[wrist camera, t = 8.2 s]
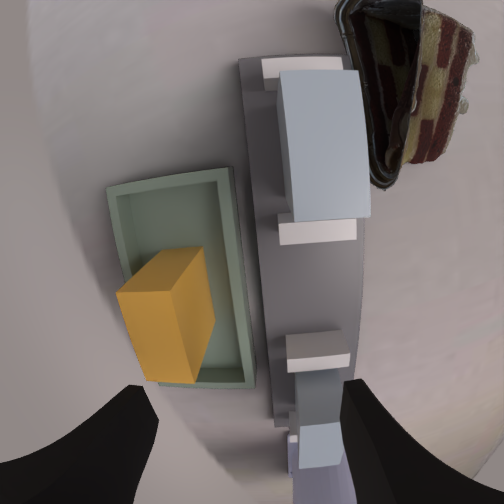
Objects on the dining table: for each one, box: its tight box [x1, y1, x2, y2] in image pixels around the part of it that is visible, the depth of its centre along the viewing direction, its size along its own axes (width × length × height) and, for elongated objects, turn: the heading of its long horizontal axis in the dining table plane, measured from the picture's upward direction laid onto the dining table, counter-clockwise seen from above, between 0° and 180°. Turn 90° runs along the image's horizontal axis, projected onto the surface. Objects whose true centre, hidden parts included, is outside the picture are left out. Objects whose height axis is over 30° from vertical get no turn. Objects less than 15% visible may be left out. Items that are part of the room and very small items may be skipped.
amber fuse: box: [116, 246, 216, 384], centre depth 15 cm, size 5×3×6 cm, turn 6°
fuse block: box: [238, 54, 364, 443], centre depth 16 cm, size 26×6×4 cm, turn 6°
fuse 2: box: [295, 368, 344, 469], centre depth 16 cm, size 5×3×6 cm, turn 6°
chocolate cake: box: [334, 0, 479, 191], centre depth 12 cm, size 10×7×12 cm
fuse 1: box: [276, 70, 371, 222], centre depth 11 cm, size 5×3×6 cm, turn 6°
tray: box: [106, 167, 257, 389], centre depth 17 cm, size 14×7×2 cm, turn 6°
